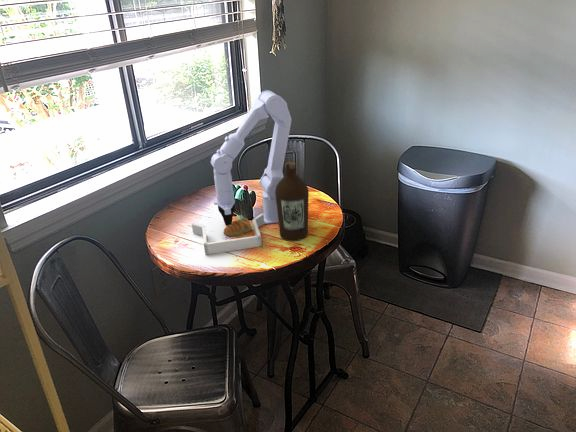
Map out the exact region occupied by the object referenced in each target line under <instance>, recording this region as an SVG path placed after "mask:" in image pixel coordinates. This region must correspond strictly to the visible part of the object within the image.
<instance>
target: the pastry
mask: <svg viewBox="0 0 576 432" xmlns="http://www.w3.org/2000/svg"><path fill="white" fill-rule="evenodd" d="M252 229H253V225H252V223H250V221H249V219H248V218H247V217H242V218H241V219H237V220H232V223H231V224H230V225H228V226H226V227H225V228H224V230H223V234H224V235H225V236H227V237H228V236H229V237H232V236H240V235H243V234H246V233H249V232H250V231H252Z"/></svg>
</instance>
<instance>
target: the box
mask: <svg viewBox="0 0 576 432" xmlns="http://www.w3.org/2000/svg"><path fill="white" fill-rule="evenodd" d="M264 224H265V222H264V214H262V213H260V214H258V215H257V216H256V217H253V219H252V229H253V232H254V235H250V236H245V237H239V238H232V239H225V240H224V239H223V240H219V241H218V240H217V241H211V242H208V238H207V237H208V236H207V230H206V226H205V225H202V224H198V223H192V224H191V228H192V233H193V234H194V235H197V236H200V237H203V239H202V240H203V247H204V248H203V249H204V254H205V256H206V255H211V254H218V253H225V252H231V251H233V252H234V251H238V250H244V249H252V248H257V247H259V248H260V247H263V244H262V243H263V242H262V235H261V232H260V229H259V228H260V227H261V226H263V225H264Z"/></svg>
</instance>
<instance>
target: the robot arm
mask: <svg viewBox="0 0 576 432" xmlns="http://www.w3.org/2000/svg"><path fill="white" fill-rule="evenodd" d="M268 114H269V115H268ZM270 117H271V119H272V120H273V121H274V126H273V131H272V139H271V144H270V149H269V155H268V161H267V167H265V168H264V172H263V174H262V176H261V177H260V179H259V185H260V187H261V189H262V190H263V192H262V195H261V196H262V205H263V213H261V214H264V224H266V225H268V224H274V223H279V220H278V212H277V204H276V196H275V190H276V186H277V184H278V183H279V182H280V180H281V179H282V178H283V177H284V176H285V175H284V173H283V169H284V163H285V160H286V159H285V158H286V154H287V153H286V152H287V148H288V141H289V136H290V132H291V125H292V117H291V114H290V111H289V108H288V103H287V102H286V100H285V98H283V97H282V96H281V95H278V94H276V93H274V91H272V90H268V89H266V90H263V91H262V92H260V94H259V95H258V98H256V99H255V100H254V101H253V104H252V106H251V107H250V109H249V110H248V112H247V113H246V115H245V117H244V119H243V120H242V121H241V123H240V125H239V127H237V130H236V131H235V132H234V133H230V134H229V135H228V136H227V135H226V136H225V138H224V140H225V141H224V142H223V144H222V145H221V146H220V148H218V149H217V150H216V153H214V154H213V155H212V156H211V157H210V158H211V160H210V161H209V162H210V165H211V166H212V168H213V179H214V188H215V195H216V200H214V201H213V205H214V206H216V205H217V210H218V212H219V213H220V215H221V216H222V219H223V222H224V225H225V226H226V227H227V226H228V225H230V224H231V223H232V222H233V217H234V213H235V210H236V206H235V203H236V199H235V197H234V187H233V178H232V173H231V170H232V169H233V161H235V159H236V158H237V156H238V155H239V153H240V152H241V151H242V149H243V148H244V146H245V145H246V144H245V138H246V137H247V136H248V135H249V133H250V132H251V131H252V130H253V128H254V127H255V126H256V125H257V123H258V121H260V120H265V119H269V118H270Z"/></svg>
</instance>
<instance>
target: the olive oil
mask: <svg viewBox="0 0 576 432" xmlns="http://www.w3.org/2000/svg"><path fill="white" fill-rule="evenodd" d="M284 163H285V165H284V168H285V169H284V172H285V175H283V176H284V177H283V178H282V179H281V180H280V182H279V183H278V184H277V186H276V190H275V196H276V204H277V212H278V220H279V222H278V229H279V230H278V231H279V235H280V238H282V239H283V240H285V241H289V242H296V241H301V239H302V240H304V239H305V238H307V237H308V236H309V196H310V195H309V193H310V192H309V188H308V187H309V186H308V185H307V183H306V182H305V181H304V180H303V179H302V178H301V177H300V176H299V174H297V167H296V162H294V161H287V162H284Z"/></svg>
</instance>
